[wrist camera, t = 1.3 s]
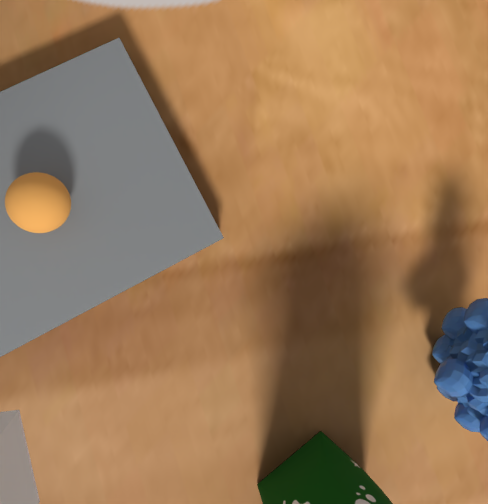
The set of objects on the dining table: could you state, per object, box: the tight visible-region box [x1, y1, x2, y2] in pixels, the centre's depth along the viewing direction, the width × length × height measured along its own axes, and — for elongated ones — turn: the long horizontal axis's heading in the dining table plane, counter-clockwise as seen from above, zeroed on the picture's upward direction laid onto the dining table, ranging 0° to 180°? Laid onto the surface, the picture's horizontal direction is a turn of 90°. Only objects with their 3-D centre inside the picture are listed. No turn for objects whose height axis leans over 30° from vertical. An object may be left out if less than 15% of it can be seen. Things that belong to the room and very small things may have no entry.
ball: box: [5, 172, 71, 233], centre depth 30 cm, size 4×4×4 cm
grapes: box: [432, 298, 488, 441], centre depth 35 cm, size 12×7×12 cm, turn 7°
